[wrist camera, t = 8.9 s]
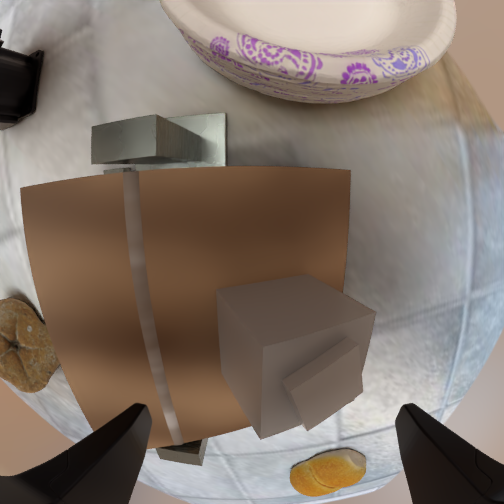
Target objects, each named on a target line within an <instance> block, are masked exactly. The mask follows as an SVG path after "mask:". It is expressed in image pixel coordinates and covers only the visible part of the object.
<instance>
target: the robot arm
mask: <svg viewBox="0 0 504 504" xmlns="http://www.w3.org/2000/svg"><path fill="white" fill-rule="evenodd" d="M1 33H2V30H1V29H0V38H1ZM3 43H4V41H2V40H0V130H4V129H6V128H8V127H11V126H13V125H15V124H16V123H17V122H18V120H20V119H23V118H25V117H27V116H29V115H31V114H33V112H34V111H35V105H36V96H37V88H38V81H39V75H40V69H41V64H42V59H43V54H44V52H43V51H42V50H38V51H36V52H34V53H33V54H31V55H29V56H27V55H24V54H21V53H18V52H15V51H12V50H8V49H5V48H2V47H1V46H2V44H3ZM30 108H31V109H30ZM395 426H396V431H397V437H398V443H399V449H400V455H401V460H402V464H403V467H404V471H405V474H406V478H407V482H408V486H409V490H410V494H411V498H412V502H413V504H504V465H503V464H501V463H499V462H497V461H496V460H494V459H492V458H490V457H489V456H487V455H486V454H484V453H483V452H481V451H480V450H478V449H476V448H475V447H474V446H472V445H471V444H469V443H468V442H467V441H465V440H464V439H462V438H461V437H460V436H458V435H457V434H455V433H454V432H453V431H451V430H450V429H448V428H447V427H446V426H444V425H443V424H441V423H440V422H439V421H437V420H436V419H434V418H433V417H432V416H430V415H429V414H428V413H426V412H425V411H423V410H422V409H421V408H419V407H418V406H417V405H415V404H414V403H409V404H404V405H403V406H402V407H401V409H400V411H399V413H398V415H397V417H396V420H395ZM151 427H152V417H151V415H150V412H149V409H148V406H147V405H146V404H142V403H134V404H133V405H131V406H130V407H129V408H127V409H126V410H124V411H123V412H122V413H120V414H119V415H117V416H116V417H115V418H113V419H112V420H110V421H109V422H107V423H106V424H104V425H103V426H102V427H100V428H99V429H97V430H96V431H94V432H93V433H91V434H90V435H88V436H87V437H85V438H84V439H82V440H81V441H79V442H78V443H76V444H75V445H73V446H72V447H70V448H69V449H68V450H65V451H64V452H62V453H61V454H59V455H57V456H56V457H54V458H52V459H51V460H49V461H47V462H45V463H43V464H41V465H38V466H36V467H34V468H32V469H29V470H27V471H25V472H23V473H20V474H17V475H14V476H0V504H128V503H129V500H130V498H131V495H132V492H133V489H134V486H135V483H136V480H137V478H138V475H139V472H140V469H141V466H142V464H143V461H144V457H145V454H146V449H147V445H148V440H149V436H150V431H151Z"/></svg>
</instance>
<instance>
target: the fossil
mask: <svg viewBox="0 0 504 504" xmlns="http://www.w3.org/2000/svg"><path fill="white" fill-rule="evenodd" d="M59 365H60V362H59V360H58V357H57V354H56V352H55V349H54V347H53V344H52V341H51V338H50V335H49V333H48V330H47V327H46V325H45V324H43V323H42V322H41V321H40V320H39V318H38V317H37V315H36V313H35V312H34V311H33V309H32V308H30V307H29V306H28V305H27V304H26V303H25V302H22V301H20V300H17V299H13V298H7V299H2V300H0V377H1V378H2V379H4V380H6V381H8V382H10V383H11V384H13V385H14V386H15V387H16V388H17V389H19V390H20V391H22V392H27V393H35V392H38V391H40V390H42V389H43V388H44V387H45V386H46V385H47V383H48V382H49V379H50V378H51V376H52V375H53V374H54V372H55V370H56V369H57V368H58V366H59Z"/></svg>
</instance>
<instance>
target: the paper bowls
mask: <svg viewBox="0 0 504 504" xmlns="http://www.w3.org/2000/svg"><path fill="white" fill-rule="evenodd" d="M160 3H161V5H162V8H163V9H164V11H165V12H166V14H167V15H168V17H169V18H170V19H171V20H172V21H173V23H174V24H175V26H176V27H177V28H178V29H179V30H180V32H181V33H182V35H183V37H184V38H185V40H186V41H187V43H188V44H189V45H190V47H191V49H192V50H193V51H194V52H195V53H196V54H197V55H198V56H199V57H200V58H201V59H202V61H204V62H205V63H206V64H207V65H208V66H210V67H211V68H213V69H214V70H216V71H217V72H219V73H220V74H222V75H223V76H225V77H227V78H228V79H230V80H232V81H233V82H235V83H237V84H239V85H242V86H244V87H247V88H249V89H251V90H256V91H259V92H260V93H262V94H265V95H269V96H273V97H277V98H282V99H285V100H290V101H298V102H305V103H341V102H351V101H353V100H356V101H357V100H360V99H362V98H368V97H371V96H375V95H378V94H380V93H383V92H386V91H388V90H390V89H392V88H394V87H396V86H397V85H399V84H400V83H402V82H404V81H406V80H408V79H410V78H412V77H413V76H415V75H417V74H418V73H420V72H422V71H424V70H426V69H428V68H430V67H431V66H433V65H434V64H435V63H436V62H438V61H439V60H440V59H441V57H442V56H443V55H444V54H445V52H446V51H447V49H448V48H449V47H450V45H451V42H452V40H453V37H454V34H455V29H456V20H457V15H456V14H457V13H456V7H455V1H454V0H160Z"/></svg>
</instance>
